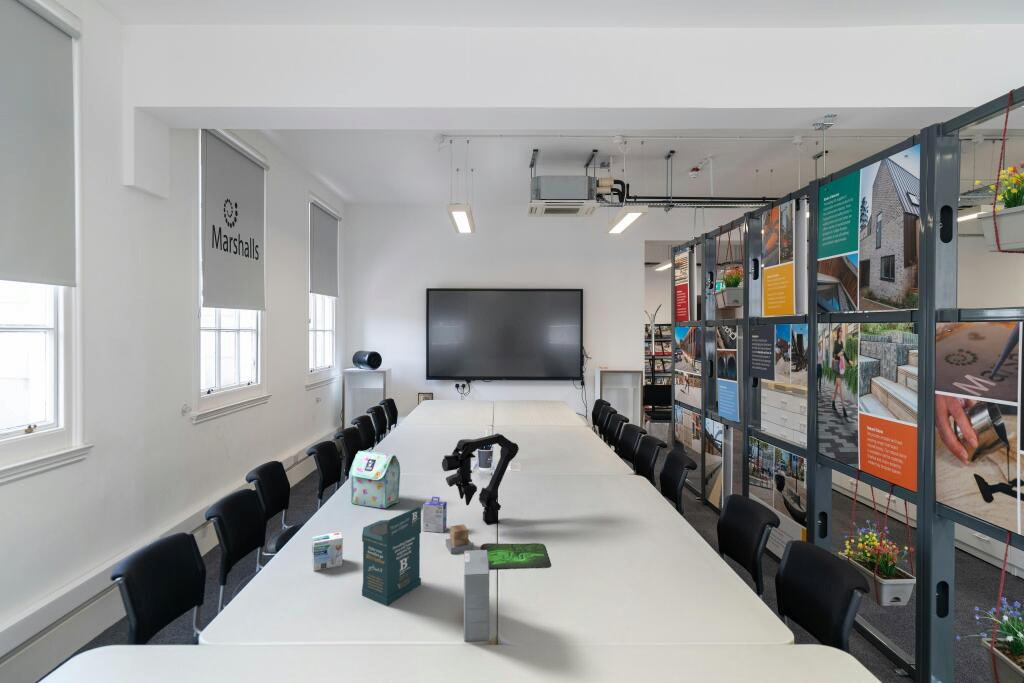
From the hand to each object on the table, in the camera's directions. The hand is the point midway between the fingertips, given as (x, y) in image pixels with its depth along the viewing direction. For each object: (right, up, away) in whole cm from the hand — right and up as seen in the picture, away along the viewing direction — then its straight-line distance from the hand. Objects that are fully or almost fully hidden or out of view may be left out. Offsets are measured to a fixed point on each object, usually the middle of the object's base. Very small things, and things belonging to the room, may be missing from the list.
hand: (464, 501), depth 223 cm
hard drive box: (+11, -14, -74) cm, 76 cm away
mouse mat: (+23, -13, -27) cm, 38 cm away
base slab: (0, -13, -20) cm, 24 cm away
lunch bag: (-50, -11, +32) cm, 60 cm away
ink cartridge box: (-13, -12, -2) cm, 18 cm away
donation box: (-22, -13, -53) cm, 59 cm away
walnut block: (0, -10, -21) cm, 23 cm away
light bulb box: (-49, -13, -36) cm, 62 cm away
